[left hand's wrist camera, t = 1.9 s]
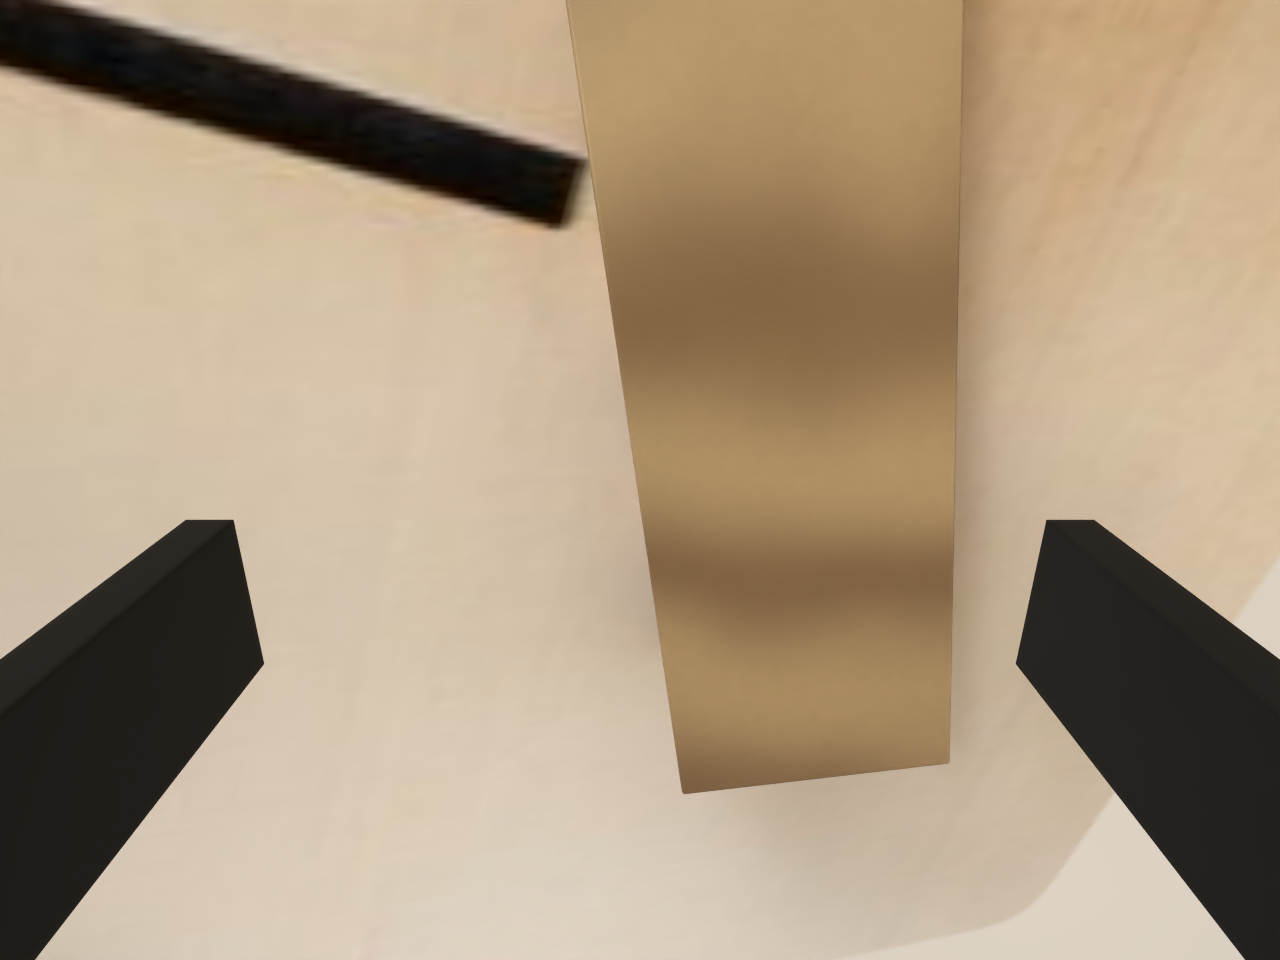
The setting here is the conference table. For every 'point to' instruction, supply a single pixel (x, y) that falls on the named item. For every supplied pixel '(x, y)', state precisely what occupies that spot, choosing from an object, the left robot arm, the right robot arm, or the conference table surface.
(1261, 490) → the conference table surface
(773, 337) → the wide beam
